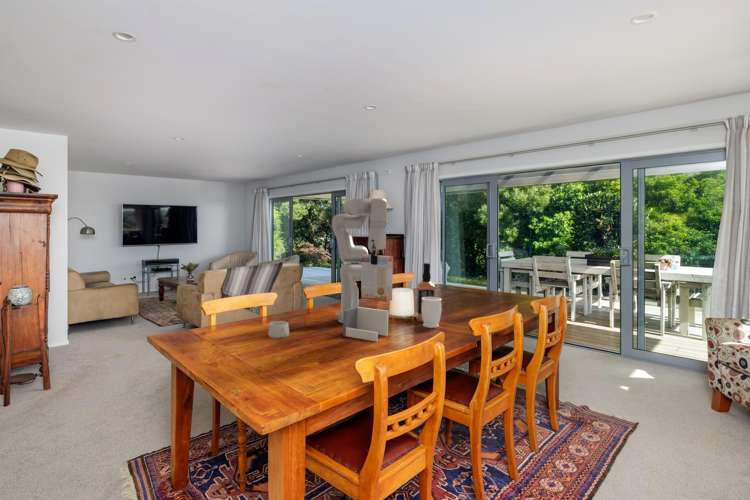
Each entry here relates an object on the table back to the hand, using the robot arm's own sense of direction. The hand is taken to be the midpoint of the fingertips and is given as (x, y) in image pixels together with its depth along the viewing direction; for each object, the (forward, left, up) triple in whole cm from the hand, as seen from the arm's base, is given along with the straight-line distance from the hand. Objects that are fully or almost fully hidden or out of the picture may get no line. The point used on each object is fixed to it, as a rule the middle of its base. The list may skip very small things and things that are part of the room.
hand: (377, 263), depth 189 cm
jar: (+16, +34, -35) cm, 52 cm away
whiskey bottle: (+8, +47, -35) cm, 59 cm away
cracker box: (0, 0, -17) cm, 17 cm away
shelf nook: (-5, 0, -35) cm, 36 cm away
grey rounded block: (-39, -22, -36) cm, 57 cm away
